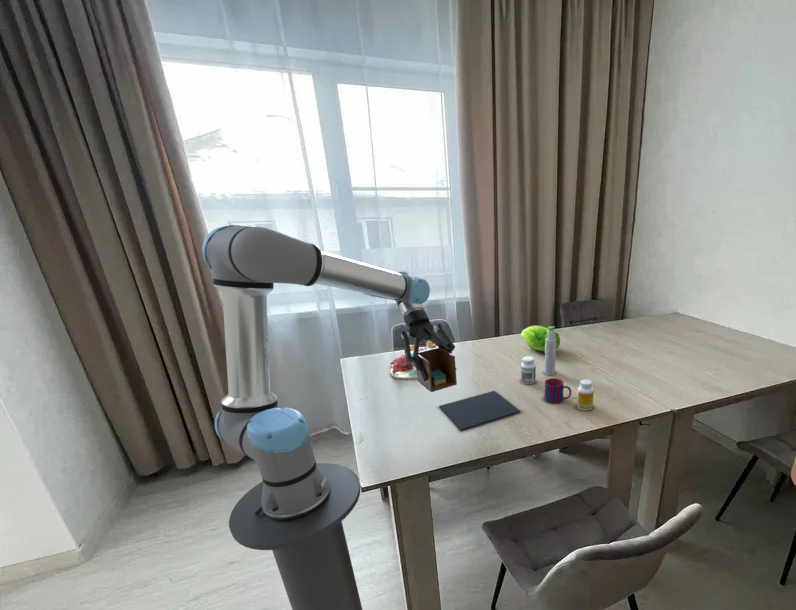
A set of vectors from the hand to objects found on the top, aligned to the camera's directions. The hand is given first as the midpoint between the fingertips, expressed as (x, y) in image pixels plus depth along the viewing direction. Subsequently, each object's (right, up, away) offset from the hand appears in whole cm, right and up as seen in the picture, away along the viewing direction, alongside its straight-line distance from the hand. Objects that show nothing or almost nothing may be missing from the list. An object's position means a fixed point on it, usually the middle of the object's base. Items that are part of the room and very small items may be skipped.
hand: (440, 375), depth 125 cm
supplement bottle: (+48, -12, +14) cm, 51 cm away
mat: (+11, -12, +13) cm, 21 cm away
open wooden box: (-2, -3, +4) cm, 5 cm away
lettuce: (+36, +10, +65) cm, 75 cm away
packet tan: (-2, -2, +4) cm, 5 cm away
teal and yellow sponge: (-2, -1, +3) cm, 4 cm away
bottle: (+38, 0, +41) cm, 56 cm away
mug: (+39, -10, +18) cm, 44 cm away
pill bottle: (+29, -3, +33) cm, 44 cm away
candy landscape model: (-18, +3, +48) cm, 52 cm away
